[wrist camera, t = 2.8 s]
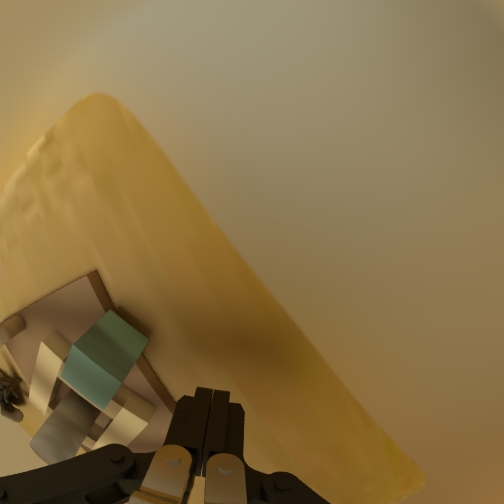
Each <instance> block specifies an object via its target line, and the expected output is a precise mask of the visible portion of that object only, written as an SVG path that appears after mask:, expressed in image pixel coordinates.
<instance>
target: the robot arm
mask: <svg viewBox="0 0 504 504" xmlns="http://www.w3.org/2000/svg"><path fill="white" fill-rule="evenodd" d="M212 395H213V399H212ZM229 396H230V392H229V391H222V390H215V389H214V393H213V389H208V388H202V387H197V388H196V392H195V396H194V397H191V396H186V395H184V396H183V397H182V398H181V399H180V400H178V401H177V404H176V407H175V410H174V413H173V416H172V419H171V422H170V426H169V429H168V432H167V435H166V438H165V441H164V444H163V445H162V447H160V448H159V449H158V450H156V451H154V452H149V453H132V451H131V450H130V449H129V448H128V447H126V446H124V445H122V444H117V443H112V444H108V445H105V446H103V447H100V448H98V449H95V450H92V451H90V452H87V453H84V454H82V455H79V456H76V457H73V458H70V459H67V460H64V461H61V462H58V463H55V464H52V465H48V466H45V467H41V468H38V469H34V470H30V471H27V472H23V473H18V474H14V475H9V476H5V477H0V504H124V503H127V502H128V504H188V502H189V499H190V495H191V492H192V488H193V485H194V479H195V476H201V470H202V477H206V480H205V495H204V504H330V503H329V502H327V501H326V500H325V499H323V498H322V497H321V496H319V495H318V494H317V493H316V492H314V491H313V490H312V489H310V488H309V487H308V486H307V485H305V484H304V483H303V482H302V481H301V480H299V479H298V478H297V477H296V476H294V475H293V474H291V473H288V472H274V473H272V474H270V475H269V474H265V473H262V472H259V471H256V470H254V469H252V468H251V467H249V466H248V465H247V463H246V462H245V460H244V457H243V445H244V417H245V412H244V410H243V408H242V406H241V404H238V403H230V402H229ZM202 464H203V468H202Z"/></svg>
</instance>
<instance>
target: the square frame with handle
mask: <svg viewBox="0 0 504 504" xmlns="http://www.w3.org/2000/svg"><path fill="white" fill-rule="evenodd" d="M148 342H149V339H148V338H147V337H145V336H144V335H142V334H141V333H140V332H138V331H137V330H136V329H134V328H133V327H132V326H131V325H129V324H128V323H127V322H125V321H124V320H123V319H122V318H120V317H119V316H118V315H117V314H115V313H114V312H113V311H112V310H109V311H108V312H107V313H106V314H105V315H104V316H103V317H101V318H100V319H99V320H98V321H97V322H96V323H95V324H94V325H93V326H92V327H91V328H90V329H88V330H87V331H86V332H85V333H84V334H83V335H82V336H81V337H80V338H79V339H78V340H77V341H76V342H75V343H74V344H73V345H71V344H70V343H69V342H68V341H66V340H65V339H64V338H63V337H62V336H61V335H60V334H59V333H58V332H57V331H56V330H54V331H53V332H52V333H51V334H49V335H48V336H47V337H46V338H45V339H43V340H42V341H41V344H40V348H39V352H38V356H37V360H36V364H35V368H34V373H33V378H32V382H31V388H30V393H29V399H28V400H29V401H30V402H31V403H32V404H33V405H34V406H35V407H37V408H38V409H39V410H40V411H41V412H42V413H43V414H45V415H46V416H47V417H49V416H50V415H51V413H52V412H53V411H54V410H55V408H56V407H57V406H58V404H59V403H60V402H61V401H62V399H63V398H62V397H60V396H59V395H58V391H59V388H60V385H61V383H62V381H63V382H64V383H66V384H67V385H68V386H69V387H70V388H72V389H73V390H74V391H75V392H77V393H78V394H79V395H80V396H82V397H83V398H84V399H86V400H87V401H88V402H89V403H91V404H92V405H94V406H95V407H96V408H98V409H99V410H101V411H102V412H103V413H105V414H106V415H108V416H109V417H111V418H112V419H111V420H110V421H109V423H108V424H107V425H106V427H105V428H104V429H103V428H102V427H100V426H99V425H97V424H96V423H94V424H93V426H92V428H91V429H90V431H89V433H88V434H87V436H86V438H85V439H84V441H83V443H82V444H84V445H85V446H87V447H88V448H90V449H91V450H95V449H98V448H100V447H103V446H105V445H108V444H112V443H117V444H122V445H124V446H127V445H128V444H129V443H130V442H131V441H132V440H133V439H134V438H135V437H136V436H137V435H138V434H139V433H140V432H141V431H142V430H143V429H144V428H145V427H146V426H147V425H148V424H149V422H150V419H151V417H152V414H153V412H154V409H155V406H153V405H152V404H150V403H149V402H147V401H145V400H144V399H142V398H141V397H139V396H138V395H136V394H135V393H133V392H132V391H130V390H129V389H127V388H126V387H124V386H123V385H122V383H123V381H124V379H125V378H126V376H127V375H128V373H129V371H130V370H131V368H132V367H133V365H134V363H135V362H136V360H137V359H138V357H139V356H140V354H141V352H142V351H143V349H144V348H145V346H146V345H147V343H148Z"/></svg>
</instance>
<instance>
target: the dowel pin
mask: <svg viewBox="0 0 504 504" xmlns="http://www.w3.org/2000/svg"><path fill="white" fill-rule="evenodd" d="M24 329H26V322H25V320H24V318H23V317H22V316H21V315H18V316H16V317H15V318H13V319H11V320H10V321H8V322H7V323H5V324H4V325H2V326H1V327H0V347H1V346H3V345H4V344H5V343H7V342H8V341H9V340H11V339H12V338H13V337H15V336H16V335H17V334H19V333H20V332H21V331H23V330H24Z"/></svg>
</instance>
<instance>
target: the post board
mask: <svg viewBox="0 0 504 504" xmlns="http://www.w3.org/2000/svg"><path fill="white" fill-rule="evenodd" d="M109 310H112V311H113V312H114V313H115V314H117V315H118V316H119V314H118V313H117V311H116V309H115V307H114V305H113V303H112V301H111V299H110V297H109V296H108V294H107V292H106V290H105V288H104V285H103V283H102V281H101V279H100V277H99V275H98V273H97V271H96V270H95V271H93V272H91V273H89V274H87V275H85V276H84V277H82V278H80V279H78V280H76V281H74V282H72V283H70V284H68V285H66V286H65V287H63V288H61V289H59V290H57V291H55V292H53V293H52V294H50V295H48V296H46V297H44V298H42V299H41V300H39V301H37V302H35V303H34V304H32V305H30V306H28V307H26V308H25V309H23V310H21V311H20V312H18V313H16V314H14V315H13V316H11V317H9V318H8V319H6V320H4V321H3V322H1V323H0V327H1V326H2V325H4V324H5V323H7V322H8V321H10V320H11V319H13V318H15V317H16V316H18V315H21V316H22V317H23V318H24V320H25V322H26V329H24V330H23V331H21V332H20V333H19V334H17V335H16V336H15V337H13V338H12V339H11V340H9V341H8V342H7V343H5V345H6V347H7V348H8V350H9V352H10V354H11V355H12V357H13V359H14V360H15V362H16V364H17V365H18V367H19V369H20V370H21V372H22V373H23V375H24V376H25V378H26V379H27V381H28V382H29V384H30V385H31V382H32V378H33V373H34V368H35V364H36V360H37V356H38V352H39V348H40V344H41V341H42V340H43V339H45V338H46V337H47V336H48V335H49V334H51V333H52V332H53V331H54V330H56V331H57V332H58V333H59V334H60V335H61V336H62V337H63V338H64V339H65V340H66V341H68V342H69V343H70V344H71V345H73V344H74V343H75V342H76V341H77V340H78V339H79V338H80V337H81V336H82V335H83V334H84V333H85V332H86V331H87V330H88V329H90V328H91V327H92V326H93V325H94V324H95V323H96V322H97V321H98V320H99V319H100V318H101V317H103V316H104V315H105V314H106V313H107V312H108V311H109ZM119 317H120V316H119ZM122 385H123V386H124V387H126V388H127V389H129V390H130V391H132V392H133V393H135V394H136V395H138V396H139V397H141V398H142V399H144V400H145V401H147V402H149V403H150V404H152V405H153V406H155V409H154V412H153V414H152V417H151V419H150V422H149V424H148V425H147V426H146V427H145V428H144V429H143V430H142V431H141V432H140V433H139V434H138V435H137V436H136V437H135V438H134V439H133V440H132V441H131V442H130V443H129V444H128V445H127V446H126V447H128V448H129V449H130V450H131V451H132V453H149V452H154V451H156V450H158V449H159V448H160V447H162V445H163V444H164V441H165V438H166V435H167V432H168V429H169V426H170V422H171V419H172V416H173V413H174V410H175V407H176V403H175V402H174V401H173V399H172V398H171V397H170V395H169V394H168V392H167V391H166V390H165V388H164V387H163V385H162V384H161V383H160V381H159V380H158V378H157V377H156V375H155V374H154V372H153V371H152V369H151V368H150V366H149V365H148V363H147V362H146V360H145V358H144V357H143V355H142V354H140V356H139V357H138V359H137V360H136V362H135V363H134V365H133V367H132V368H131V370H130V371H129V373H128V375H127V376H126V378H125V379H124V381H123V383H122ZM58 395H59V396H60V397H62V398H63V399H62V401H61V402H60V403H59V404H58V406H57V407H56V408H55V410H54V411H53V412H52V413H51V415H50V416H49V417H48V419H47V420H46V421H45V423H44V424H43V425H42V427H41V428H40V429H39V431H38V432H37V433H36V435H35V436H34V437H33V439H32V440H31V441H30V446H31V448H32V449H33V451H34V452H35V453H36V454H37V455H38V456H39V457H40V458H41V459H42V460H43V461H44V462H46V463H47V464H48V465H52V464H55V463H58V462H61V461H64V460H67V459H70V458H73V457H75V455H76V453H77V452H78V450H79V448H80V446H81V447H82V448H83V449H84V450H85V451H86V452H90V451H92V450H91V449H90V448H88V447H87V446H85V445H84V444H82V443H83V441H84V439H85V438H86V436H87V434H88V433H89V431H90V429H91V428H92V426H93V424H94V423H96V424H97V425H99V426H100V427H102V428H103V429H104V428H105V427H106V425H107V424H108V423H109V421H110V420H111V419H112V418H111V417H109V416H108V415H106V414H105V413H103V412H102V411H101V410H99V409H98V408H96V407H95V406H94V405H92V404H91V403H89V402H88V401H87V400H86V399H84V398H83V397H82V396H80V395H79V394H78V393H77V392H75V391H74V390H73V389H72V388H70V387H69V386H68V385H67V384H66V383H64V382H63V381H62V383H61V385H60V388H59V391H58Z"/></svg>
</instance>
